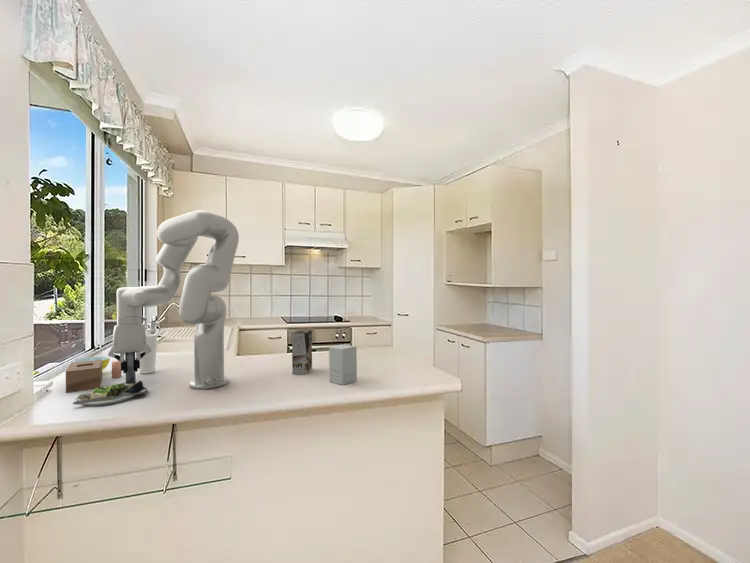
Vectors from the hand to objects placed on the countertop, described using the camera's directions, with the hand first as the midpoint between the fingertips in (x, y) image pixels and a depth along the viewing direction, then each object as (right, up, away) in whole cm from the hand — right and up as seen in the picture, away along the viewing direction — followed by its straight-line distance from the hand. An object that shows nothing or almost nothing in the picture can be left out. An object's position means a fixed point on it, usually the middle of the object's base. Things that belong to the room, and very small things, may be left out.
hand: (130, 371), depth 130 cm
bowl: (-23, -4, +11) cm, 26 cm away
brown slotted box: (-14, -4, -3) cm, 15 cm away
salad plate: (+6, -5, -16) cm, 18 cm away
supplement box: (+77, -4, 0) cm, 77 cm away
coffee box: (+60, -4, +14) cm, 61 cm away
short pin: (-10, -4, +8) cm, 13 cm away
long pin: (0, -4, 0) cm, 4 cm away
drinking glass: (-3, -4, +14) cm, 15 cm away
